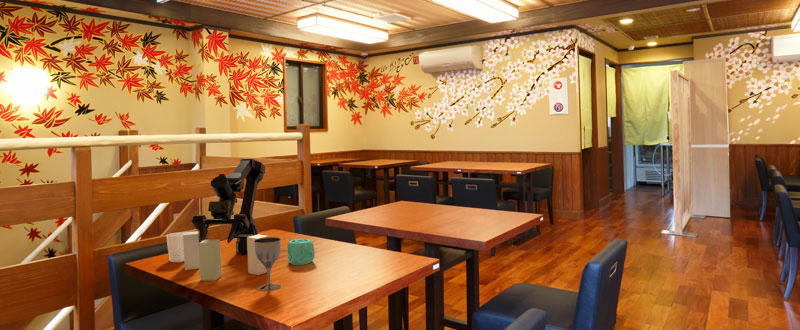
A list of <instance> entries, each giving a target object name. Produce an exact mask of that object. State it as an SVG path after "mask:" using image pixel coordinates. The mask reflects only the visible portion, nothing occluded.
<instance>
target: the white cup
mask: <svg viewBox="0 0 800 330" xmlns="http://www.w3.org/2000/svg"><path fill="white" fill-rule="evenodd" d="M183 232H184V231H181V232H180V231H178V232H171V233H169V234H168V233H167V234H166V244H167V253H168V260H169V262H170V263H181V262H184V244H183Z"/></svg>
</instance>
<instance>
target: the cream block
mask: <svg viewBox="0 0 800 330" xmlns="http://www.w3.org/2000/svg"><path fill="white" fill-rule="evenodd" d="M264 237H269V235H267V234H266V235H264V234H259V233H258V235H254V236H250V237H247V252H248V254H247V272H248V274H251V275H257V276H259V275H263V274H267V270H266V268H265V266H264V265H263V264H262V263H261V262H260V261H259V260H258V259H257V256H256V253H255V247H254V240H256V239H259V238H264Z"/></svg>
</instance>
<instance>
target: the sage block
mask: <svg viewBox="0 0 800 330" xmlns="http://www.w3.org/2000/svg"><path fill="white" fill-rule="evenodd" d="M221 257H222V255H221V240H220V239H219V238H218V239H213V238H212V239H205V240H203V241H201V242H199V261H200V268H199V276H200V277H199V278H200V281H216V280H218V279H219V278H220V277H222V263H221V261H222V259H221Z"/></svg>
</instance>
